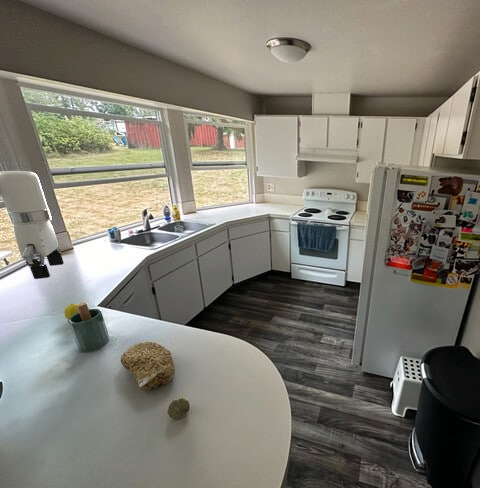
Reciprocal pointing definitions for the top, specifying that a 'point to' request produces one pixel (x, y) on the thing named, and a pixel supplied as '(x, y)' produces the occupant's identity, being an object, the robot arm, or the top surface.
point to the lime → (178, 408)
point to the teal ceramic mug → (89, 331)
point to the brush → (84, 311)
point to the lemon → (71, 310)
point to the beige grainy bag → (149, 364)
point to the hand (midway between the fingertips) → (50, 271)
